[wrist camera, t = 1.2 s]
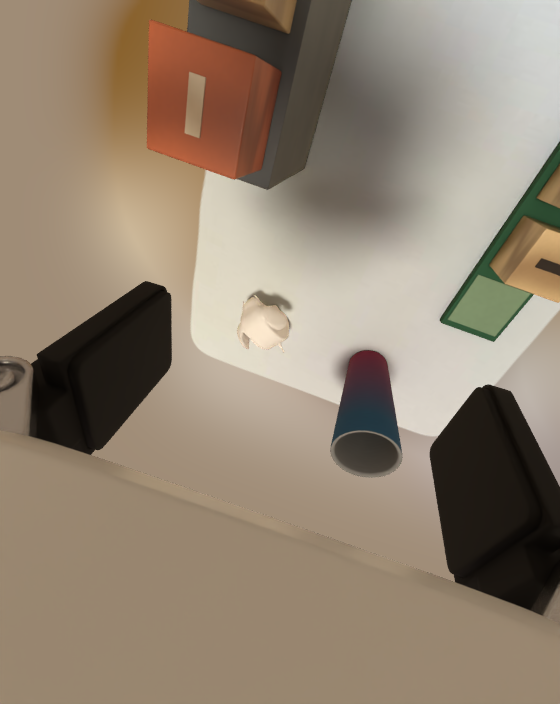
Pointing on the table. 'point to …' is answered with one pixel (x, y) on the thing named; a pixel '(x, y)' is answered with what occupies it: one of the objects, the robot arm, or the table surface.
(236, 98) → the slotted orange cube
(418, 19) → the table surface
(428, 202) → the table surface
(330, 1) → the near dark gray stand
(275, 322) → the elephant figurine
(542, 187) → the green tile rack
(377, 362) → the cup
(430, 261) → the table surface
